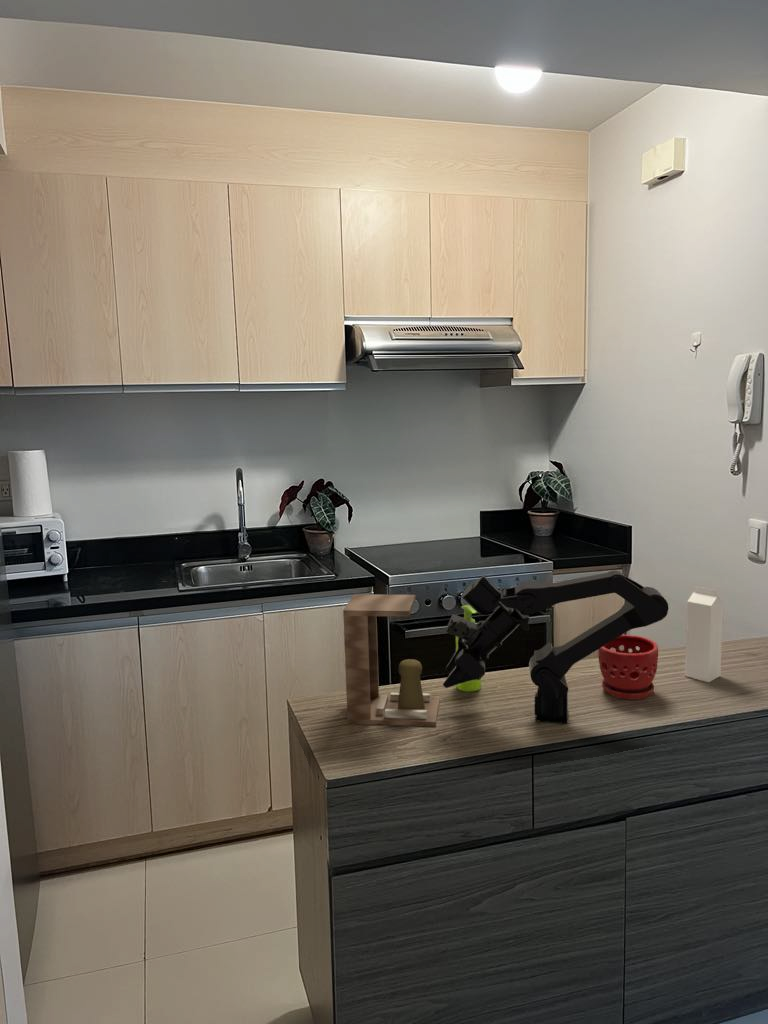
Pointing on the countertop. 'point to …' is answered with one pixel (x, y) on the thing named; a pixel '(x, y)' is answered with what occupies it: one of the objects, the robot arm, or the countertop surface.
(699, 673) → the milk
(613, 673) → the plant pot
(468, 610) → the soap dispenser
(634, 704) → the countertop surface
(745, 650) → the countertop surface
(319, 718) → the countertop surface
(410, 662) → the cork
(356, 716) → the wooden stand
